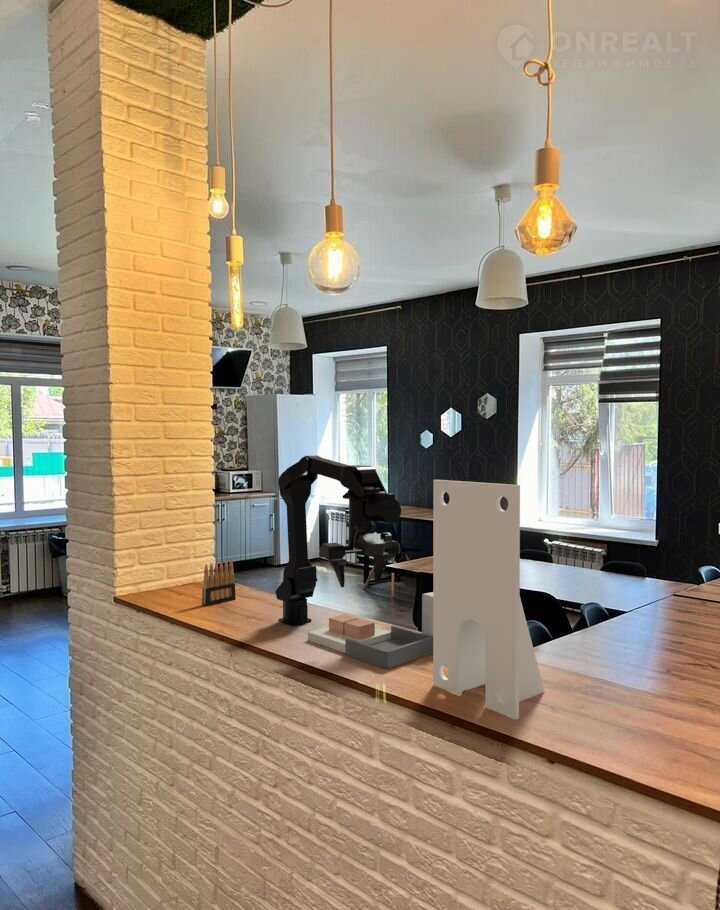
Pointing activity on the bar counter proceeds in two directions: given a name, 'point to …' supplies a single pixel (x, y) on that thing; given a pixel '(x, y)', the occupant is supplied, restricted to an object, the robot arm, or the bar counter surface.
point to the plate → (338, 640)
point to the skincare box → (427, 613)
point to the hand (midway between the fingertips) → (359, 585)
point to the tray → (392, 648)
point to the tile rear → (339, 623)
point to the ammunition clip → (218, 584)
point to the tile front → (359, 629)
